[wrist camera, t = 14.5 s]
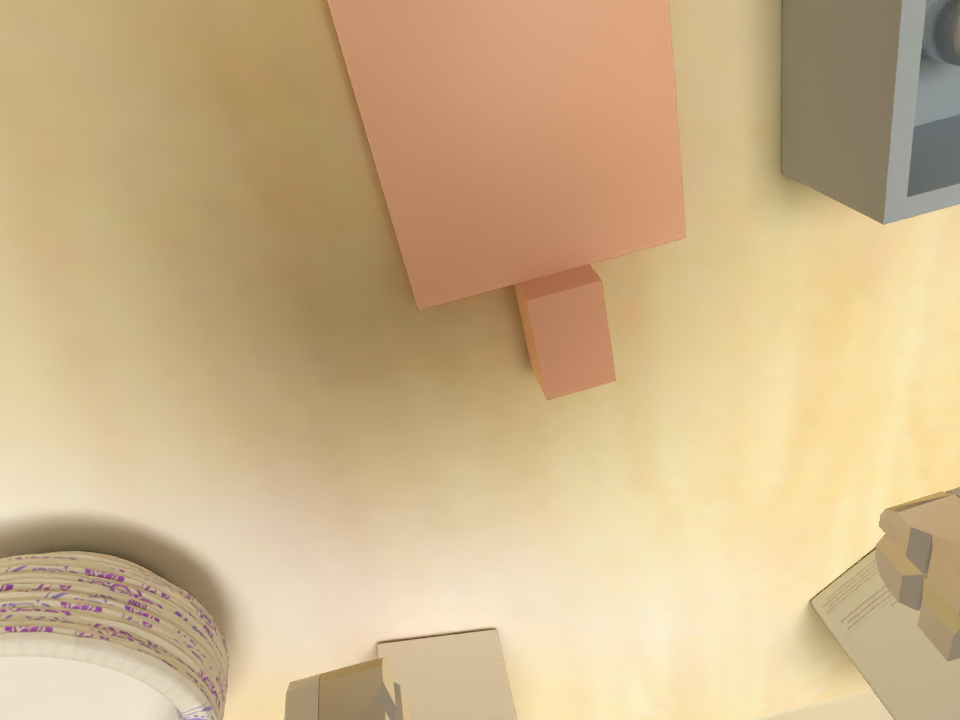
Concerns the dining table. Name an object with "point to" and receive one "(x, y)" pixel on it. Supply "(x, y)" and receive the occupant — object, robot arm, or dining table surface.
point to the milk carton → (452, 676)
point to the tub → (868, 107)
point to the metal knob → (942, 32)
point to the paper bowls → (104, 643)
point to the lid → (521, 153)
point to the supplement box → (889, 646)
